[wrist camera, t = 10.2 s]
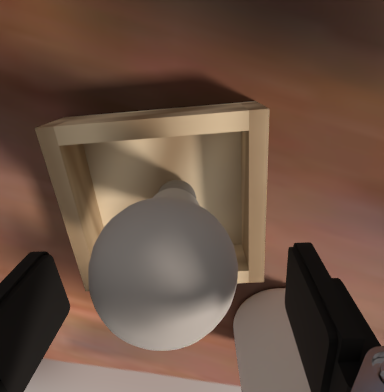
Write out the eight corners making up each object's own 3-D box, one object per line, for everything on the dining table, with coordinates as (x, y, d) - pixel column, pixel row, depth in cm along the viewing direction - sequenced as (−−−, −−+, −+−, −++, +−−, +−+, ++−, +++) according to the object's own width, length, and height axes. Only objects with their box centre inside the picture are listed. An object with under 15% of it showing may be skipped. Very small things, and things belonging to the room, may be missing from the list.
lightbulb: (176, 245, 21) (156, 408, 11) (114, 189, 19) (21, 323, 9) (240, 195, 19) (287, 337, 9) (179, 128, 17) (151, 212, 7)
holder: (255, 101, 17) (269, 108, 14) (253, 249, 22) (263, 282, 18) (64, 117, 18) (34, 127, 14) (102, 258, 22) (85, 291, 19)
